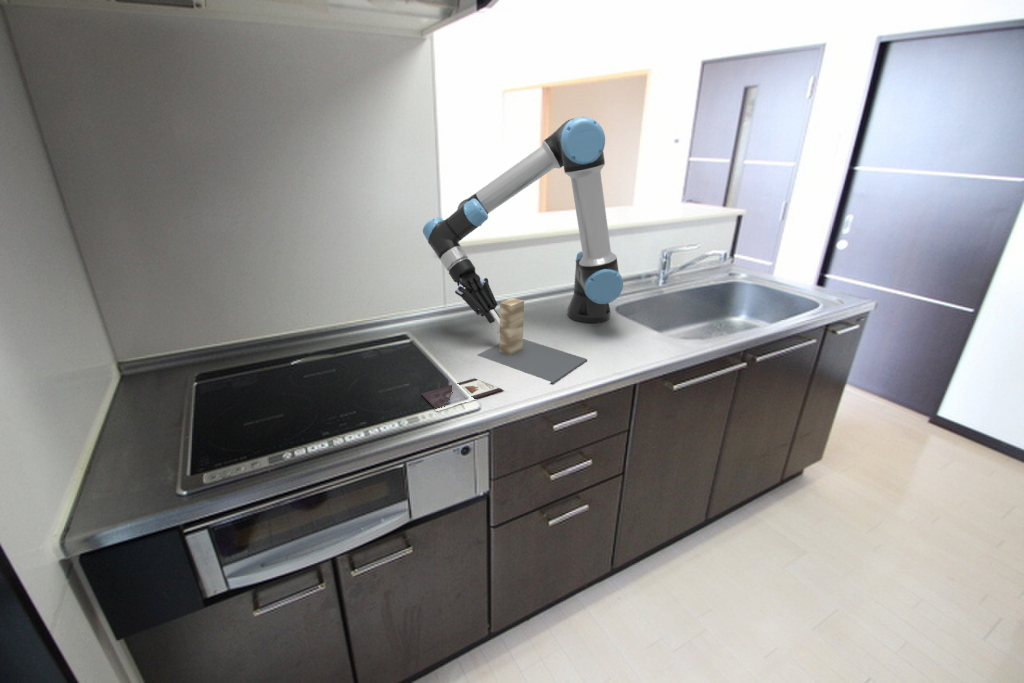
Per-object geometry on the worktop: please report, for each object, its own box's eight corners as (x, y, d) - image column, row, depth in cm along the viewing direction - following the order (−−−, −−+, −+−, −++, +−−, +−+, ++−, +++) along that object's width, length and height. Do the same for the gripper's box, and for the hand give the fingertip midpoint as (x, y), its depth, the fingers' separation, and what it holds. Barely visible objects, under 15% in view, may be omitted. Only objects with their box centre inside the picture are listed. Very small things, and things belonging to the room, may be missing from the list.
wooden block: (499, 351, 139) (499, 302, 133) (511, 345, 144) (512, 297, 138) (510, 355, 137) (511, 305, 131) (522, 348, 142) (524, 300, 136)
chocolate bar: (420, 393, 116) (484, 375, 126) (421, 396, 117) (484, 378, 126) (436, 410, 110) (502, 389, 119) (436, 413, 110) (502, 393, 119)
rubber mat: (476, 356, 137) (476, 354, 137) (514, 337, 150) (514, 336, 150) (552, 384, 123) (553, 382, 123) (587, 360, 136) (587, 359, 136)
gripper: (466, 268, 150) (507, 330, 148) (436, 276, 141) (480, 343, 138) (479, 254, 145) (522, 317, 143) (449, 262, 136) (494, 330, 133)
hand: (501, 330), depth 140 cm, fingers closed
